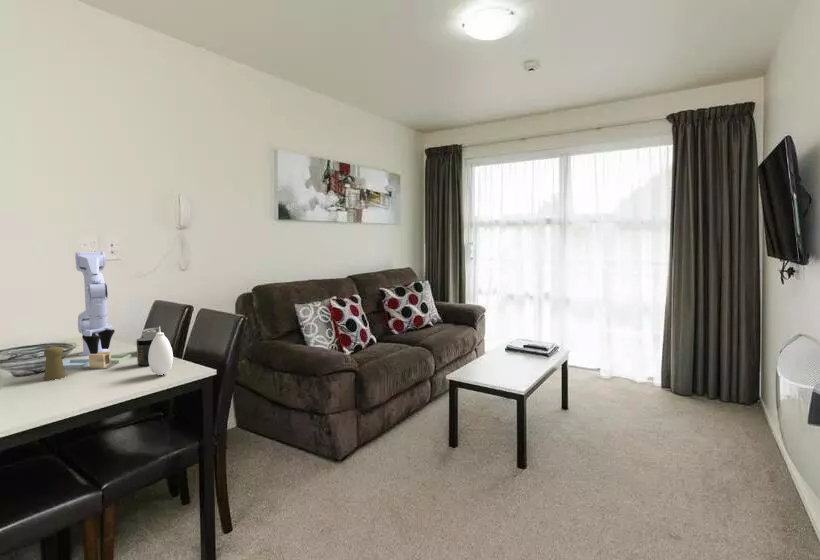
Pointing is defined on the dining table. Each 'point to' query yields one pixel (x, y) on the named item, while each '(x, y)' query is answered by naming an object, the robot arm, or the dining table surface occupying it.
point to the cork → (54, 363)
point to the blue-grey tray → (75, 363)
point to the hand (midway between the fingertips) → (99, 351)
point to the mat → (101, 368)
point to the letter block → (100, 359)
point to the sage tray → (119, 358)
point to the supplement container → (143, 351)
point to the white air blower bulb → (160, 354)
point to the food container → (150, 332)
